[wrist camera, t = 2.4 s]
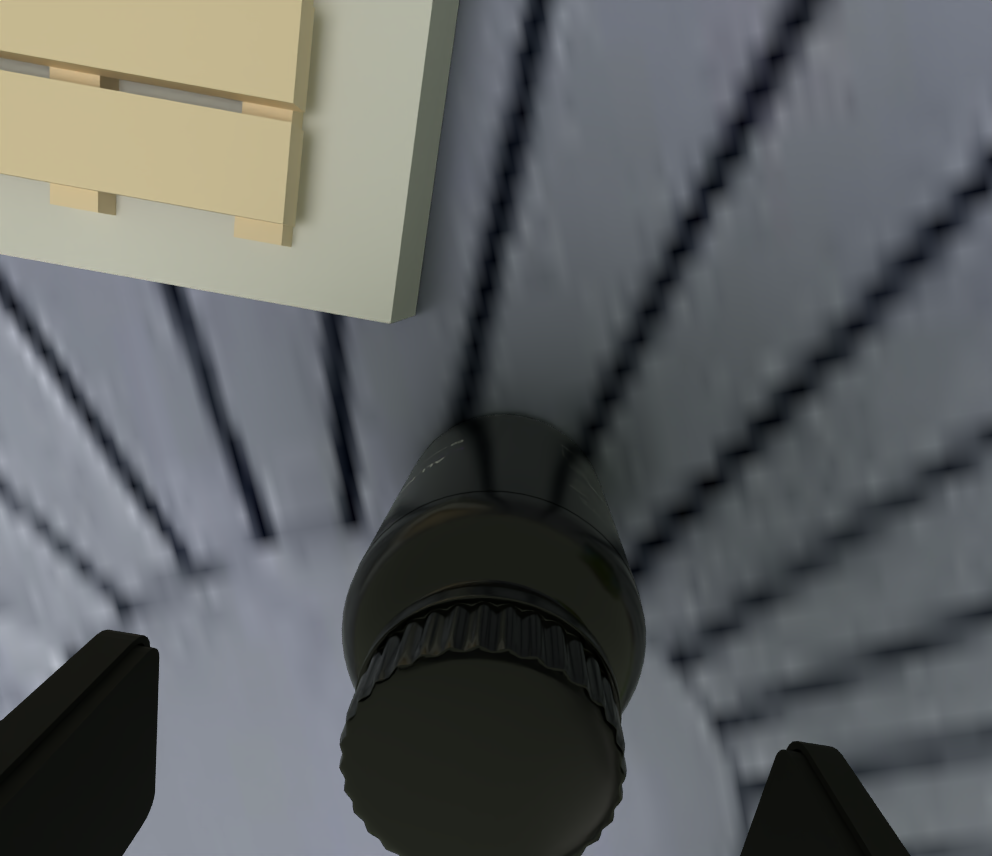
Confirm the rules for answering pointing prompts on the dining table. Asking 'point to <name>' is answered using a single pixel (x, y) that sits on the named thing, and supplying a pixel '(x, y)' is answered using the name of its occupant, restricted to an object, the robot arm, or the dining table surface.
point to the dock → (337, 185)
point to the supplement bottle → (492, 651)
